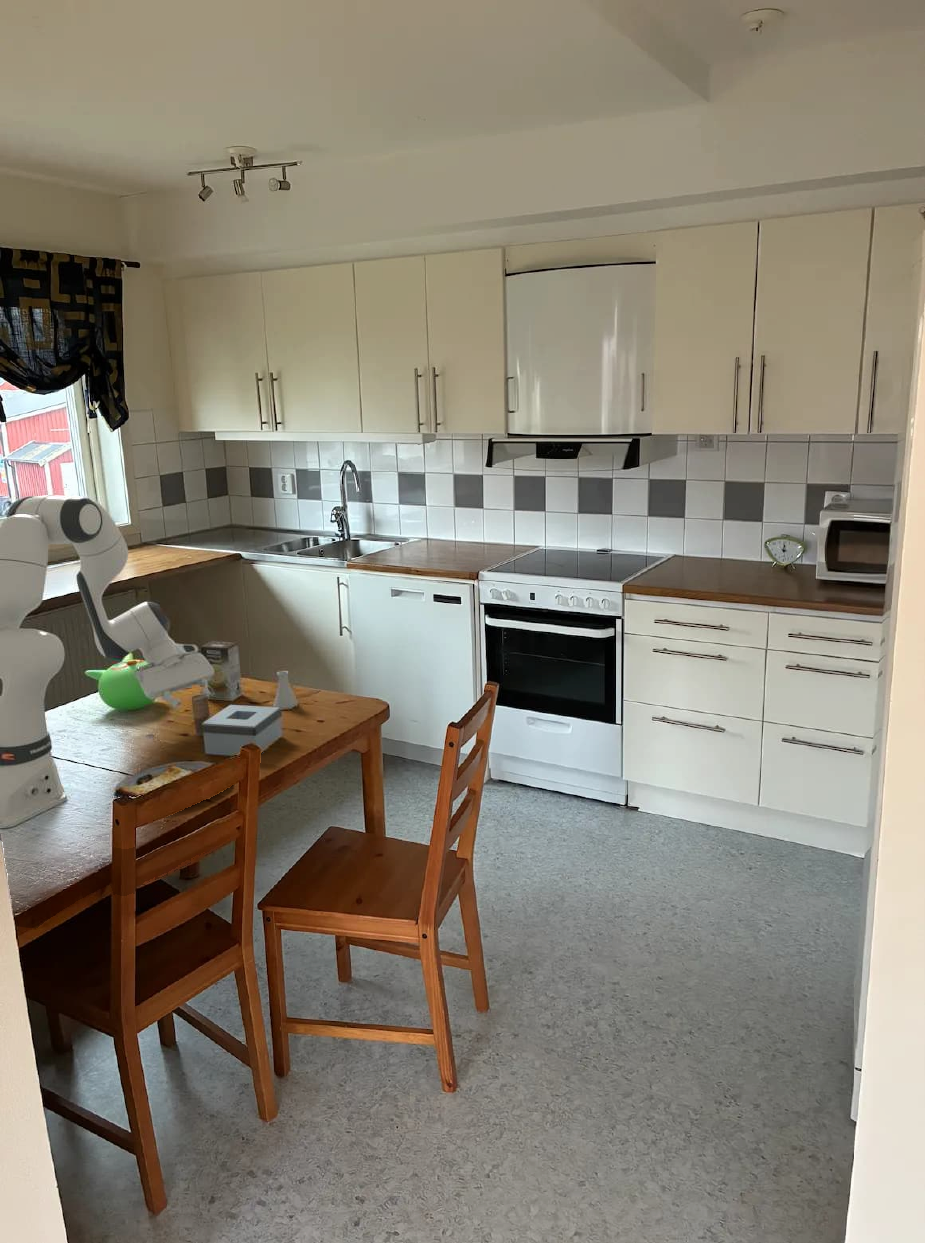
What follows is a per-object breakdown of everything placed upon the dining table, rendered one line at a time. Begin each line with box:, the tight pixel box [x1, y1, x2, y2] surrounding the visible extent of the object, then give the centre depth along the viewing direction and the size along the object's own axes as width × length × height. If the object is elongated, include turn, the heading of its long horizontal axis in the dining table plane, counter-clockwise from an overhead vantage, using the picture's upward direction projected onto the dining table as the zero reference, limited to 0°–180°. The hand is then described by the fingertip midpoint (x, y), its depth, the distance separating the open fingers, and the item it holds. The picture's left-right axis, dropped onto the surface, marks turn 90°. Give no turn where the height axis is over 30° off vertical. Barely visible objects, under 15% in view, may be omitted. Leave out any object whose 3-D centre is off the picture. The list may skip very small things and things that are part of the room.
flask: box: [272, 670, 299, 711], centre depth 265 cm, size 7×7×10 cm
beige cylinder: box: [191, 694, 211, 737], centre depth 246 cm, size 4×4×10 cm
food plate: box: [113, 760, 215, 799], centre depth 212 cm, size 25×23×4 cm
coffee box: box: [200, 640, 243, 702], centre depth 275 cm, size 9×6×16 cm
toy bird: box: [84, 652, 157, 711], centre depth 268 cm, size 18×17×15 cm
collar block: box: [201, 704, 283, 757], centre depth 236 cm, size 14×14×8 cm
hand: (192, 700), depth 247 cm, fingers open, 8 cm apart
